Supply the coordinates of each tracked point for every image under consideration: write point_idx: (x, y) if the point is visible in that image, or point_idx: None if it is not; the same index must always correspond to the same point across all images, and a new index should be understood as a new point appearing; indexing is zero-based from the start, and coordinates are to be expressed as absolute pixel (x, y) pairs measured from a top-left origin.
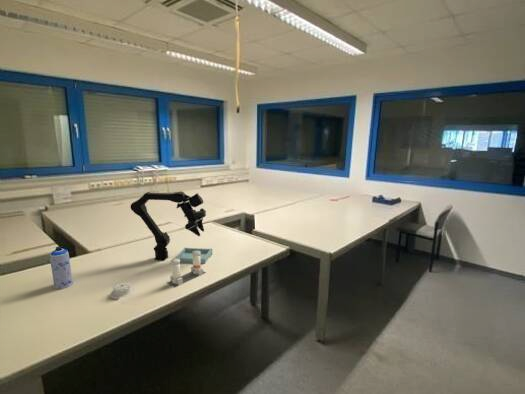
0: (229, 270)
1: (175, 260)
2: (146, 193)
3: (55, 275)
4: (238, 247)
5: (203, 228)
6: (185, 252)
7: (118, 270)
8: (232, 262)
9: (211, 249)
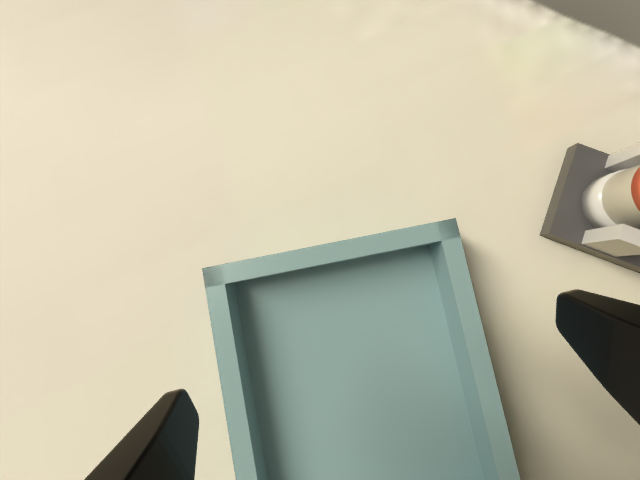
0: (453, 23)
1: None
2: None
3: None
4: (16, 113)
5: (139, 440)
6: None
7: None
8: (323, 51)
9: (218, 268)
